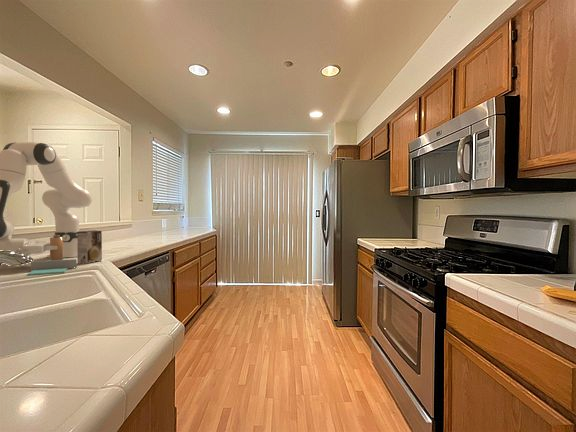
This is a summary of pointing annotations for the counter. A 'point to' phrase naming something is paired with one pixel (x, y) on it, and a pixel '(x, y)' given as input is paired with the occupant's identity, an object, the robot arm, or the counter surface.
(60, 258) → the amber bottle
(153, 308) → the counter surface
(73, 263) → the acrylic wall
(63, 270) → the pad
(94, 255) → the coffee box
